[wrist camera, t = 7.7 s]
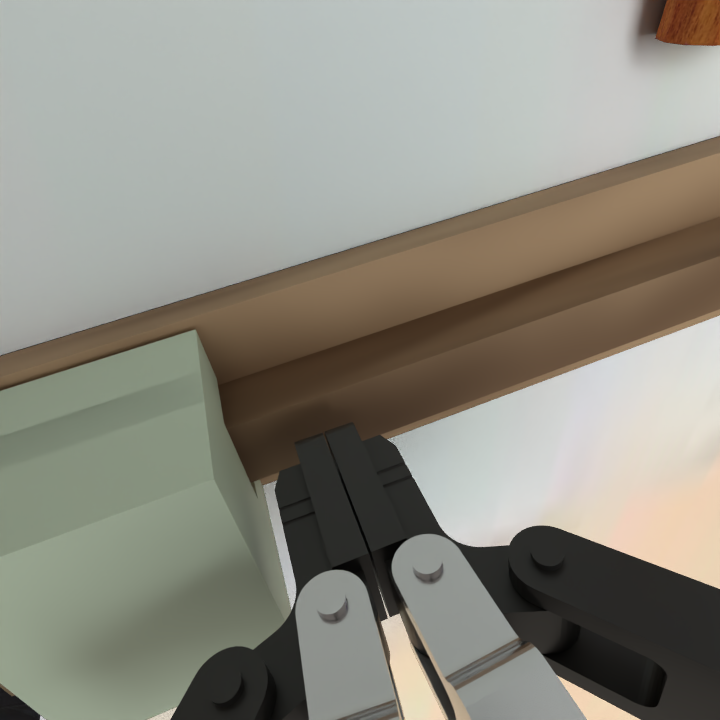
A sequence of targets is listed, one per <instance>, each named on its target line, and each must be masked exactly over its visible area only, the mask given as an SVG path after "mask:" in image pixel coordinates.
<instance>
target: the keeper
mask: <svg viewBox="0 0 720 720" xmlns="http://www.w3.org/2000/svg"><path fill="white" fill-rule="evenodd" d="M290 613H291V607H290V603H289V598H288V594H287V589H286V585H285V581H284V576H283V572H282V568H281V563H280V559H279V554H278V550H277V546H276V541H275V537H274V533H273V528H272V524H271V520H270V515H269V511H268V506H267V502H266V498H265V493H264V489H263V486H262V484H261V481H260V480H257V481H254V482H252V483H250V480H249V478H248V476H247V474H246V471H245V469H244V467H243V465H242V462H241V460H240V458H239V456H238V453H237V451H236V449H235V447H234V444H233V442H232V440H231V438H230V435H229V433H228V431H227V429H226V426H225V424H224V419H223V413H222V407H221V401H220V395H219V389H218V383H217V378H216V376H215V374H214V371H213V369H212V367H211V364H210V362H209V360H208V357H207V355H206V353H205V350H204V348H203V346H202V343H201V341H200V338H199V336H198V334H197V331H196V329H195V330H192V331H188V332H185V333H182V334H179V335H176V336H173V337H169V338H166V339H163V340H160V341H157V342H154V343H150V344H147V345H144V346H141V347H138V348H135V349H131V350H128V351H125V352H122V353H119V354H116V355H112V356H109V357H106V358H103V359H100V360H97V361H93V362H90V363H87V364H84V365H81V366H78V367H74V368H71V369H68V370H65V371H62V372H59V373H55V374H52V375H49V376H46V377H43V378H40V379H36V380H33V381H30V382H27V383H24V384H21V385H17V386H14V387H11V388H8V389H5V390H2V391H0V684H2V685H3V686H4V687H6V688H7V689H8V690H9V691H11V692H12V693H13V694H14V695H16V696H17V697H18V698H19V699H21V700H22V701H23V702H24V703H26V704H27V705H28V706H30V707H31V708H32V709H33V710H35V711H36V712H37V713H38V714H40V715H41V716H42V717H43V718H45V719H46V720H147V719H149V718H152V717H154V716H156V715H159V714H161V713H163V712H166V711H168V710H170V709H173V708H175V707H177V706H178V705H179V704H180V702H181V700H182V698H183V696H184V695H185V693H186V691H187V689H188V687H189V686H190V684H191V682H192V680H193V678H194V677H195V675H196V673H197V672H198V670H199V669H200V668H201V666H202V665H203V664H204V663H205V662H206V661H207V660H208V659H209V658H210V657H212V656H213V655H214V654H216V653H218V652H219V651H221V650H223V649H226V648H229V647H235V646H243V647H248V648H250V649H252V650H253V649H254V648H256V647H257V646H258V645H259V644H261V643H262V642H263V641H264V640H266V639H267V638H268V637H269V636H271V635H272V634H273V633H274V632H275V631H276V630H278V629H279V628H280V627H281V625H282V624H283V623H284V622H285V621H286V619H287V618H288V616H289V615H290Z"/></svg>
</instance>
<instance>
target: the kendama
mask: <svg viewBox="0 0 720 720" xmlns="http://www.w3.org/2000/svg"><path fill="white" fill-rule="evenodd" d="M655 39H658V40H660V41H663V42H666V43H674V44H682V45H707V46H717V45H720V0H667V2H666V5H665V8H664V11H663V15H662V18H661V21H660V24H659V28H658V31H657V34H656V38H655Z"/></svg>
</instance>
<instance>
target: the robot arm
mask: <svg viewBox="0 0 720 720" xmlns="http://www.w3.org/2000/svg"><path fill="white" fill-rule="evenodd" d="M324 433H325V437H326V440H327V443H328V445H327V443H326V440H325V437H324V435H323V433H320V434H317V435H314V436H311V437H308V438H305V439H303V440H300V441H297V442H294V444H295V447H296V451H297V454H298V457H299V461H300V464H298V465H295V466H292V467H289V468H287V469H284V470H281V471H279V475H278V479H277V483H276V487H275V494H276V498H277V503H278V507H279V510H280V516H281V520H282V524H283V529H284V533H285V538H286V542H287V546H288V551H289V555H290V560H291V564H292V568H293V573H294V577H295V582H296V599H295V603H294V606H293V609H292V611H291V613H290V615H289V616H288V618H287V619H286V621H285V622H284V623H283V624H282V625H281V627H280V628H279V629H278V630H276V631H275V632H274V633H273V634H272V635H271V636H269V637H268V638H267V639H266V640H264V641H263V642H262V643H261V644H259V645H258V646H257V647H256V648H254V649H253V650H252V649H250V648H248V647H243V646H235V647H229V648H226V649H223V650H221V651H219V652H218V653H216V654H214V655H213V656H212V657H210V658H209V659H208V660H207V661H206V662H205V663H204V664H203V665H202V666H201V668H200V669H199V670H198V672H197V673H196V675H195V677H194V678H193V680H192V682H191V684H190V686H189V687H188V689H187V691H186V693H185V695H184V696H183V698H182V700H181V702H180V704H179V705H178V707H177V709H176V711H175V712H174V714H173V716H172V718H171V720H405V717H404V713H403V710H402V706H401V702H400V699H399V695H398V691H397V687H396V684H395V680H394V676H393V672H392V669H391V665H390V651H389V647H388V644H387V641H386V637H385V634H384V631H383V628H382V625H381V621H383V620H385V619H388V618H387V615H386V611H385V608H384V604H383V601H382V597H383V600H384V603H385V605H386V608H387V611H388V613H389V616H390V617H392V616H394V615H397V614H399V613H400V616H401V618H402V621H403V623H404V626H405V628H406V631H407V633H408V636H409V640H410V644H411V648H412V650H413V653H414V655H415V657H416V659H417V661H418V663H419V665H420V667H421V669H422V672H423V674H424V676H425V678H426V680H427V682H428V684H429V686H430V688H431V690H432V692H433V694H434V697H435V699H436V701H437V703H438V705H439V707H440V709H441V711H442V713H443V715H444V717H445V720H587V719H586V717H585V716H584V715H583V713H582V712H581V710H580V709H579V707H578V706H577V704H576V703H575V702H574V700H573V699H572V697H571V696H570V694H569V693H568V691H567V690H566V688H565V687H564V686H563V684H562V683H561V681H560V680H559V678H558V677H557V675H558V676H559V677H561V678H563V679H565V680H567V681H569V682H571V683H573V684H575V685H577V686H578V687H580V688H582V689H584V690H586V691H588V692H590V693H592V694H594V695H595V696H597V697H599V698H601V699H603V700H605V701H607V702H609V703H611V704H612V705H614V706H616V707H618V708H620V709H622V710H624V711H626V712H628V713H630V714H631V715H633V716H635V717H637V718H639V719H641V720H720V589H718V588H715V587H713V586H710V585H707V584H705V583H702V582H699V581H697V580H694V579H691V578H689V577H686V576H683V575H681V574H678V573H675V572H673V571H670V570H667V569H665V568H662V567H659V566H657V565H654V564H651V563H649V562H646V561H643V560H641V559H638V558H636V557H633V556H630V555H628V554H625V553H622V552H620V551H617V550H614V549H612V548H609V547H606V546H604V545H601V544H598V543H596V542H593V541H590V540H588V539H585V538H582V537H580V536H577V535H574V534H572V533H569V532H566V531H564V530H561V529H558V528H555V527H551V526H533V527H529V528H526V529H524V530H522V531H521V532H519V533H518V534H517V535H516V536H515V537H514V538H513V540H512V541H511V543H510V545H508V546H493V547H472V546H467V545H463V544H461V543H458V542H456V541H455V540H453V539H451V538H450V537H449V536H448V535H446V534H445V533H444V531H443V530H442V529H441V527H440V526H439V524H438V522H437V521H436V519H435V517H434V515H433V513H432V511H431V510H430V508H429V506H428V504H427V502H426V500H425V499H424V497H423V495H422V493H421V491H420V489H419V488H418V486H417V484H416V482H415V480H414V478H412V475H411V473H410V471H409V469H408V467H407V466H406V465H405V462H404V460H403V458H402V456H401V455H400V453H399V451H398V449H397V447H396V446H395V445H394V444H393V443H391V442H390V441H388V440H387V439H385V438H384V437H383V436H381V435H378V436H375V437H372V438H369V439H367V440H364V441H362V440H361V438H360V436H359V434H358V432H357V430H356V427H355V425H354V423H353V422H350V423H347V424H345V425H342V426H339V427H336V428H333V429H330V430H328V431H325V432H324ZM328 446H329V448H328ZM379 589H380V591H379ZM380 592H381V594H380ZM381 595H382V597H381Z"/></svg>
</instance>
